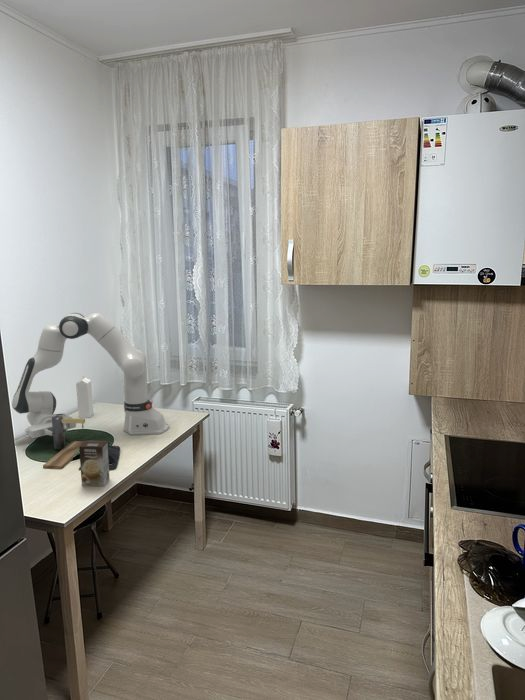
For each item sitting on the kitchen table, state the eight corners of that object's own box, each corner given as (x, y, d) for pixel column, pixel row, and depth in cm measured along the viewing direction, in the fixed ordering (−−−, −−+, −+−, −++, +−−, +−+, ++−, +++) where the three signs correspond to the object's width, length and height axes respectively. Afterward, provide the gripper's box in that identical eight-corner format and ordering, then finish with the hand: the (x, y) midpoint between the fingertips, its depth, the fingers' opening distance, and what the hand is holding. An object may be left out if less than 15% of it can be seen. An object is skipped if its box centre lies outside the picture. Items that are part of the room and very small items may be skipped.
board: (89, 444, 227) (89, 441, 227) (61, 468, 202) (61, 465, 202) (73, 443, 228) (72, 440, 228) (43, 468, 203) (42, 465, 202)
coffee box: (80, 486, 187) (77, 446, 184) (87, 478, 194) (84, 439, 190) (104, 486, 187) (101, 446, 184) (110, 478, 193) (107, 440, 190)
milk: (78, 417, 262) (75, 377, 258) (82, 414, 268) (79, 374, 264) (90, 417, 262) (86, 377, 258) (93, 413, 268) (90, 374, 264)
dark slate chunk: (126, 450, 221) (125, 440, 220) (114, 472, 200) (114, 461, 199) (91, 451, 220) (90, 441, 219) (76, 473, 199) (75, 462, 198)
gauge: (88, 446, 222) (86, 416, 220) (83, 450, 218) (81, 420, 215) (57, 445, 224) (54, 415, 221) (52, 449, 219) (49, 419, 217)
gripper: (22, 423, 221) (34, 431, 212) (67, 412, 235) (80, 419, 225) (24, 436, 223) (35, 445, 213) (68, 425, 236) (81, 432, 227)
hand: (59, 431), depth 219 cm, fingers closed on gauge, 5 cm apart
